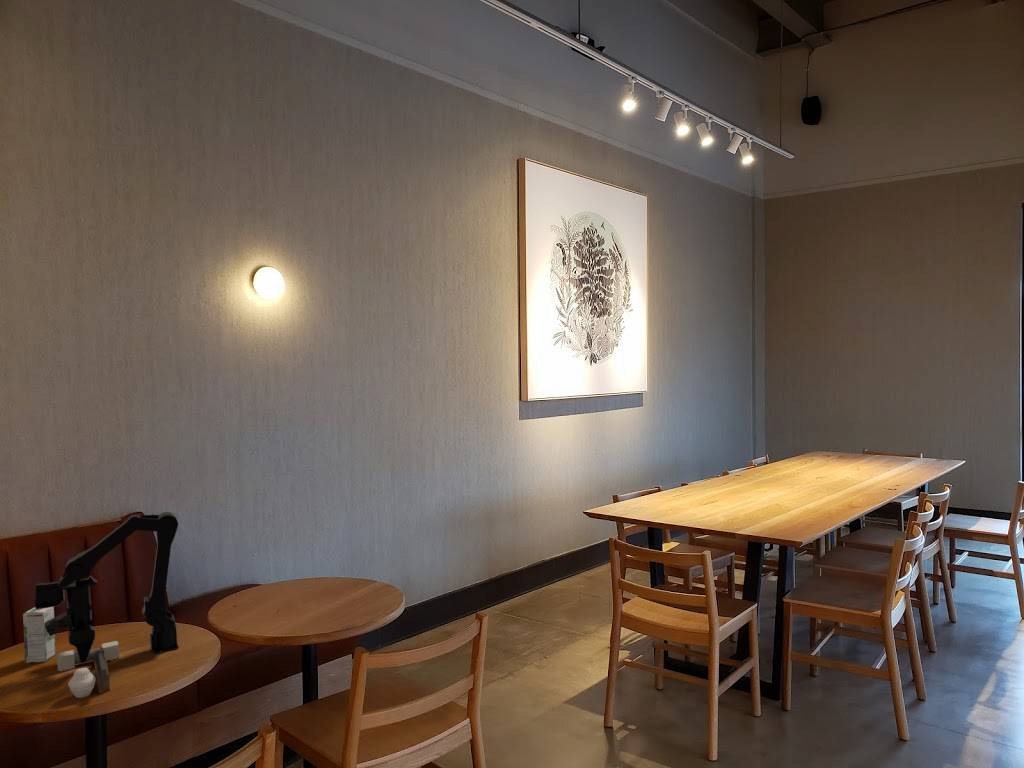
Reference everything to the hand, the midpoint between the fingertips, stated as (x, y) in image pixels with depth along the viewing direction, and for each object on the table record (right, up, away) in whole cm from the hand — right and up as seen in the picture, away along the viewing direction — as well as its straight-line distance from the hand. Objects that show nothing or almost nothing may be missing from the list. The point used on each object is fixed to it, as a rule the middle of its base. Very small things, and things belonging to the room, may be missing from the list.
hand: (82, 657), depth 212 cm
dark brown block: (+11, -2, -10) cm, 15 cm away
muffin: (+12, -2, -21) cm, 25 cm away
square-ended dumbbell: (+1, -2, +1) cm, 2 cm away
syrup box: (-15, -3, +5) cm, 16 cm away
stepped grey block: (+14, +3, -15) cm, 20 cm away
